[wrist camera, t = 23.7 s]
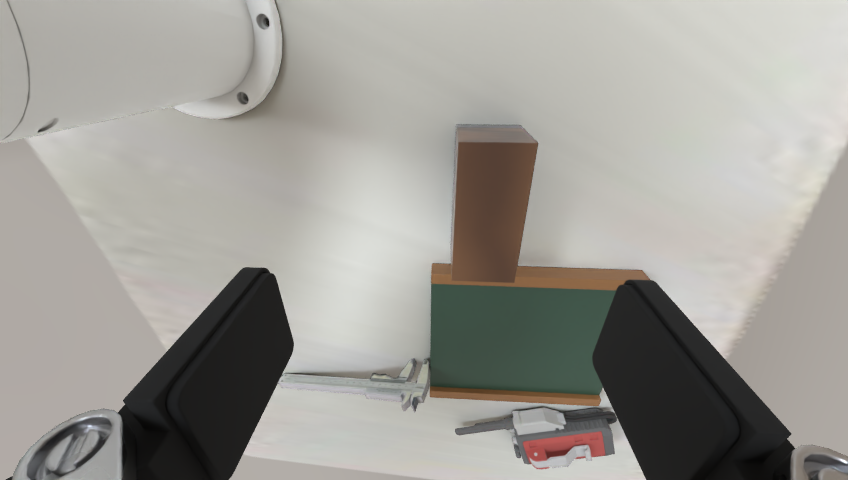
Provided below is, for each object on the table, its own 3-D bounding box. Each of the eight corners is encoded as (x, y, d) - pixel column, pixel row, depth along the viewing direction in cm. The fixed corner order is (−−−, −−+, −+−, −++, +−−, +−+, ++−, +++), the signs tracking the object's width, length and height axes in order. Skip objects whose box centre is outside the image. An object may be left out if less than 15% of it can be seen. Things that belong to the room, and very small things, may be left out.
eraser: (450, 245, 31) (451, 281, 27) (456, 124, 26) (458, 141, 21) (503, 246, 31) (514, 283, 26) (521, 124, 26) (538, 142, 21)
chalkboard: (430, 384, 42) (429, 397, 40) (432, 263, 33) (431, 273, 31) (593, 392, 41) (598, 406, 39) (642, 269, 32) (652, 281, 30)
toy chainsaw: (609, 393, 41) (452, 416, 45) (626, 429, 37) (453, 451, 41) (614, 433, 45) (470, 451, 49) (630, 469, 41) (471, 485, 45)
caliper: (428, 356, 39) (425, 405, 34) (430, 362, 40) (428, 411, 34) (274, 374, 43) (249, 421, 37) (278, 379, 43) (253, 427, 38)
